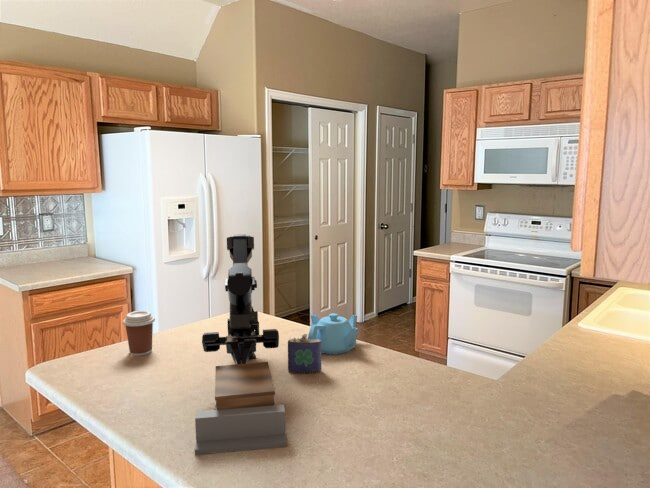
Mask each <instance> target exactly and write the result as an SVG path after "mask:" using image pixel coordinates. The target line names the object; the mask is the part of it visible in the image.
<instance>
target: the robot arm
mask: <svg viewBox="0 0 650 488" xmlns="http://www.w3.org/2000/svg"><path fill="white" fill-rule="evenodd" d="M226 250H227V251H229V257H230V259H231V261H232V267H230V268H229V269H228V273H227V274H228V275H227V276H228V277H225V283H224V287H225V289H224V290H225V292H227V293H228V301H229V318H227V335H225V336H220V333H219V331H215V332H213V331H212V332H204V333H203V334H202V335H201V336H202V337H201V345H202V349H203V352H204V353H208V352H209V353H212V352H213V353H214V352H218V351H219V350H220V348H221V346H225V347H226V354H230V355H231V356H232V359H233V361H234V362H235V363H236V364H248V362H249V360H251V359H257V355H256V352H257V344H262V346H263V347H264V348H265V349H277V348H279V343H280V333H279V330H278V329H277V328H271V329H262V334H260V322H259V318H258V317H259V314H258V313H259V311H258V310H254V307H253V305H252V302H253V300H252V293H253V291H256V289H257V288H258V282H257V279H256V278H255V276H253V275H252V268H251V267H250V266H248V264H249V262H250V260H251V259H252V257H253V250H255V237H254V236H252V235H247V234H233V235H230V236H229V237H226ZM236 364H235V365H236Z"/></svg>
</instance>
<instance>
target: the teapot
mask: <svg viewBox="0 0 650 488" xmlns="http://www.w3.org/2000/svg"><path fill="white" fill-rule="evenodd" d="M310 319H311V323H312V324H311V325H310V328H309V332H308V334H307V340H315V339H319V340H321V354H326V355H341V354H345V353H349V352H351V350H352V349H354V347H355V346H356V344H357V334H358V331H359V328H357V327H356V326H357V321H358V315H357V314H352V315H351V316H350V318H349V319H347V318H345V317H343V316H339V314H338V313H333V312H332V313H329V314H328V316H327V315H326V316H323V317H321V318H320V319H319V318H318V315H317V314H311V315H310Z"/></svg>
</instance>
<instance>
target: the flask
mask: <svg viewBox="0 0 650 488" xmlns="http://www.w3.org/2000/svg"><path fill="white" fill-rule="evenodd" d="M307 339H308V334H306V333H303V334H302V335H301V337H300V338H298V337H297V338H296V337H294V338H290V339H288V340H287V370H288V373H290V374H298V375H299V374H300V375H302V374H306V375H308V374H320V373H321V372H322V352H321V340H319V339H315V340H307Z"/></svg>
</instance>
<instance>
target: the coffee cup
mask: <svg viewBox="0 0 650 488" xmlns="http://www.w3.org/2000/svg"><path fill="white" fill-rule="evenodd" d="M155 318H156V317H155V316H154V315H152V312H151V311H148V310H136V311H134V310H133V311H132V312H128V313H127V314H126V315H125V318H124V319H123V320H122V325H123V326H124V327H125V332H126V336H127V337H126V338H127V343H128V344H127V345H128V350H129V354H130V355H131V356H137V357H138V356H139V357H140V356H146V355H148V354H150V353H152V352H153V331H154V330H153V326H154V325H153V324H154V322H155V320H156V319H155Z"/></svg>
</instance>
